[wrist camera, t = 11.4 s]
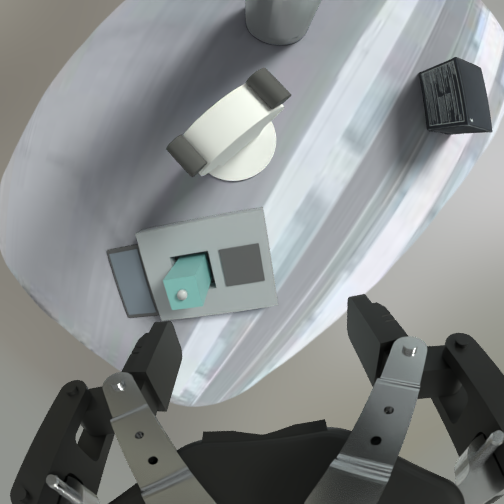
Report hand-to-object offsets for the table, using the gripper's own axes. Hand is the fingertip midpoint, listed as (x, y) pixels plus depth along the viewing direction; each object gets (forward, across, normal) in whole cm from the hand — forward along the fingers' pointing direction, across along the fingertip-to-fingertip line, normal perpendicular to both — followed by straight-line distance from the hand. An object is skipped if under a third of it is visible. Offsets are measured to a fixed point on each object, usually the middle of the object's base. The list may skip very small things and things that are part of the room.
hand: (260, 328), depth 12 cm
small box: (+29, -33, -15) cm, 46 cm away
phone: (+28, +20, +8) cm, 36 cm away
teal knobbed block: (+27, +10, +7) cm, 30 cm away
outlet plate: (+28, +8, +7) cm, 29 cm away
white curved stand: (+28, +1, -10) cm, 30 cm away
